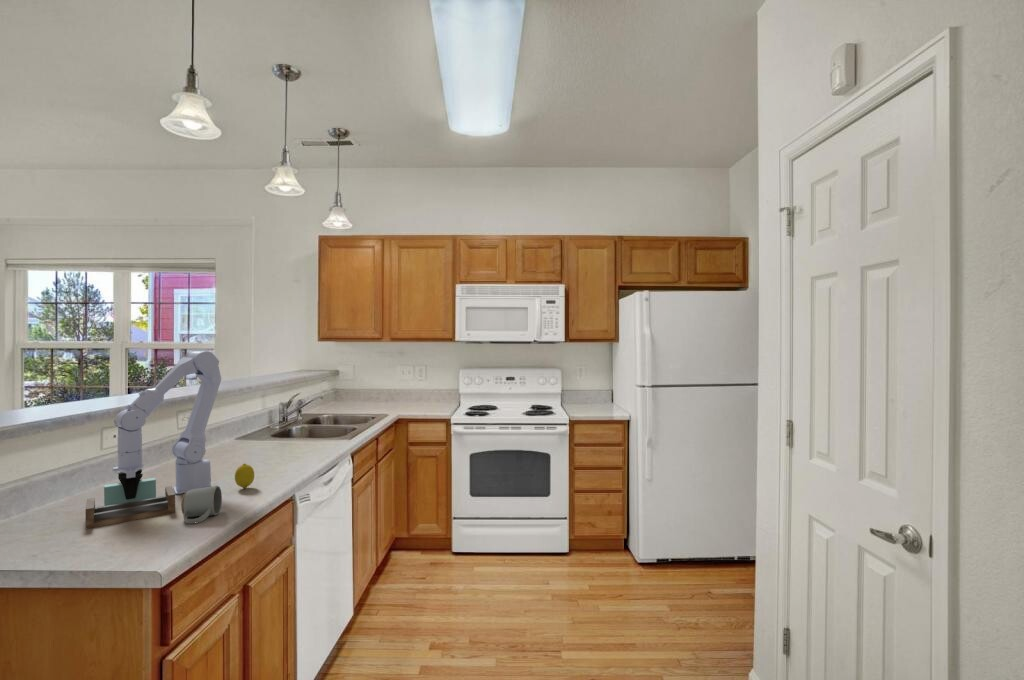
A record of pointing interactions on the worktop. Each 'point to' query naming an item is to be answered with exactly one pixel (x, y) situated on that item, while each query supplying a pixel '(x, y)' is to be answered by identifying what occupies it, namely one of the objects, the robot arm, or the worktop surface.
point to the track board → (129, 510)
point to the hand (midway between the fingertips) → (130, 497)
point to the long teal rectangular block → (117, 495)
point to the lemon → (244, 475)
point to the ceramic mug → (201, 503)
